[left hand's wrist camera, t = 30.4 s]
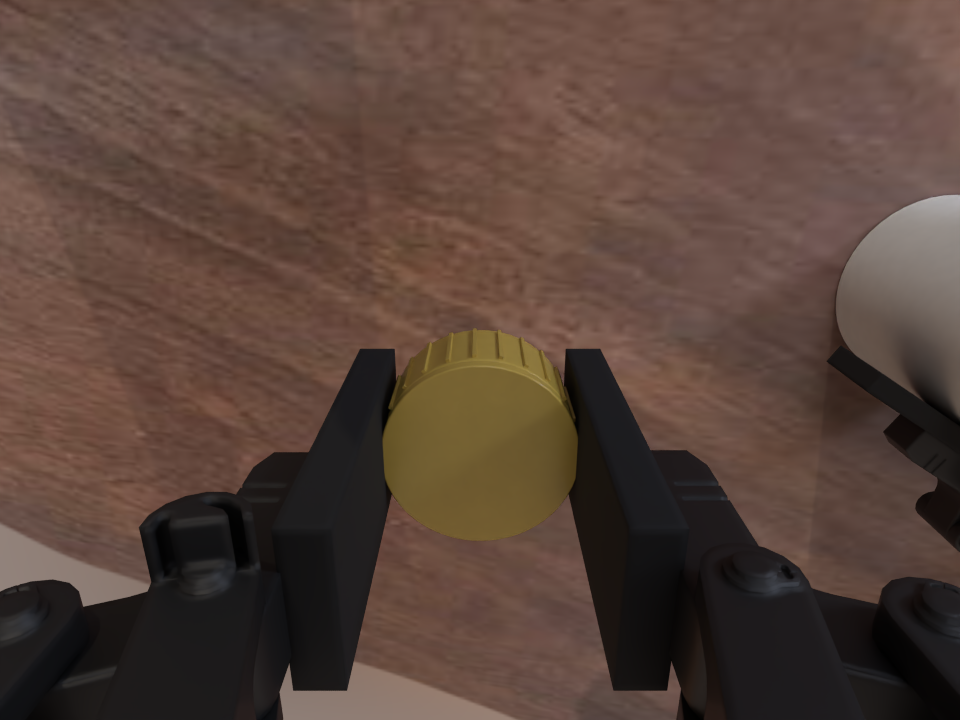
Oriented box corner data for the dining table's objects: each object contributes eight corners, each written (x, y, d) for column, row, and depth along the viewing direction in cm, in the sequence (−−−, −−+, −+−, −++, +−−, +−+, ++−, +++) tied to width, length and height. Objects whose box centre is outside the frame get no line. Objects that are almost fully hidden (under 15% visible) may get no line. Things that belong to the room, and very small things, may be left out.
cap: (523, 296, 14) (532, 328, 12) (595, 447, 15) (613, 499, 13) (359, 372, 14) (339, 415, 12) (441, 510, 15) (435, 570, 14)
